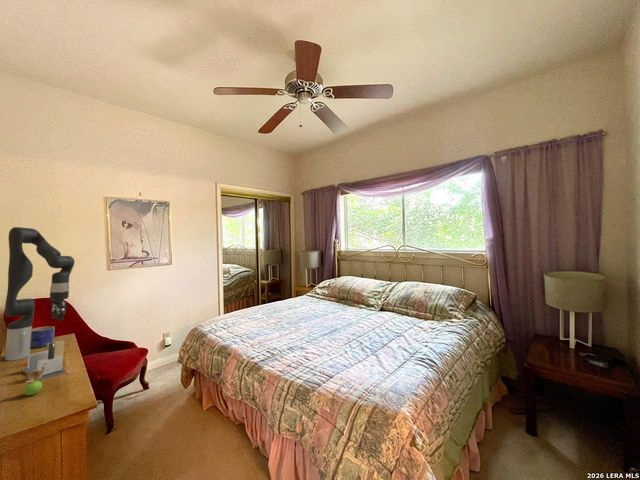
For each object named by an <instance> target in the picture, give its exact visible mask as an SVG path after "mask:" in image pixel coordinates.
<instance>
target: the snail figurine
mask: <svg viewBox="0 0 640 480" xmlns="http://www.w3.org/2000/svg"><path fill="white" fill-rule="evenodd" d="M44 364H47V363H46V362H45V363H44ZM45 368H46V366H45V365H44V366H42V370H41V372H40V370H38V369H35V370H32V371H30V372H28V373H27V374H25V380H26V381H25V383H26V385H25V386H24V388H23V390H22V391H23V394H24V395H26V396H33V395H36V394H38V393H39V392H40V391H41V390H42V388H43V382H41V380H39V379H40V378H41V377H42V376H43V374H44V371H45ZM37 380H39V381H37Z"/></svg>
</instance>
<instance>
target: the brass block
mask: <svg viewBox="0 0 640 480" xmlns="http://www.w3.org/2000/svg"><path fill="white" fill-rule="evenodd" d="M54 342H55V354H54V356H57V355H62V356H63V358H64V355H65V341H64V340H56V341H54ZM51 343H52V342H51ZM48 349H49V343H47V346H46V351H47V350H48Z"/></svg>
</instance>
